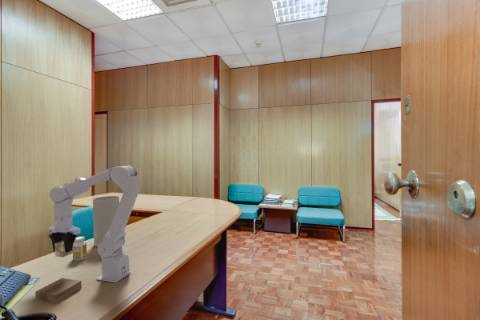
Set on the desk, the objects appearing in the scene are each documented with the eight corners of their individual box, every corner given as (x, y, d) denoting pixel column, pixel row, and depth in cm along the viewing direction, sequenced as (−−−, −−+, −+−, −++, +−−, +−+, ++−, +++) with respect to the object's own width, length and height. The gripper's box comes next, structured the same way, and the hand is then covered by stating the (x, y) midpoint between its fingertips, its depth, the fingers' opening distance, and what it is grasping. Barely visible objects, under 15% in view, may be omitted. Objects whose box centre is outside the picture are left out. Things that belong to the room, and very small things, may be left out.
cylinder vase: (88, 245, 125) (87, 199, 125) (110, 238, 136) (109, 195, 136) (104, 249, 120) (103, 200, 119) (125, 241, 131) (124, 196, 131)
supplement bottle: (84, 255, 113) (84, 235, 113) (88, 258, 109) (88, 237, 109) (71, 259, 109) (70, 238, 108) (74, 262, 105) (74, 240, 105)
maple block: (73, 253, 93) (72, 240, 93) (63, 257, 89) (62, 244, 89) (65, 252, 94) (65, 239, 94) (55, 256, 90) (54, 243, 90)
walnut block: (81, 289, 84) (81, 280, 84) (56, 304, 75) (56, 295, 75) (62, 286, 86) (62, 277, 86) (35, 300, 78) (35, 291, 78)
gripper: (38, 218, 90) (39, 253, 90) (67, 220, 86) (68, 256, 86) (57, 213, 96) (58, 246, 97) (85, 215, 93) (85, 249, 93)
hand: (64, 251), depth 92 cm, fingers closed on maple block, 4 cm apart
